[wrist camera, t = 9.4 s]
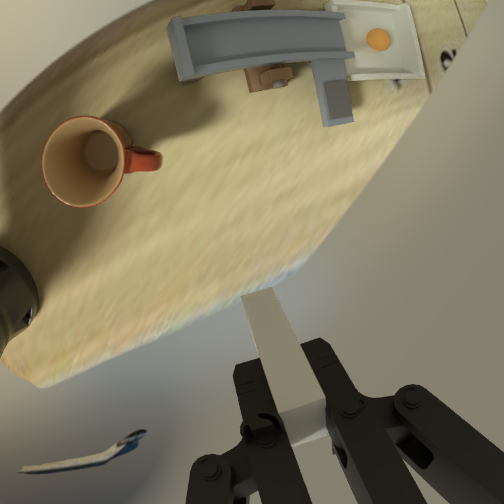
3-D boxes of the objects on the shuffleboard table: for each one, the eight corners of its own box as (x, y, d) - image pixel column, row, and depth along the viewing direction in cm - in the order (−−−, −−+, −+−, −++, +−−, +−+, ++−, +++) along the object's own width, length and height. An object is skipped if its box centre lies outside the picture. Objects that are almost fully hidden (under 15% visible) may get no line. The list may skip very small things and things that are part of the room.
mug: (74, 182, 34) (42, 206, 25) (78, 114, 30) (44, 116, 21) (163, 187, 37) (155, 212, 28) (171, 117, 33) (165, 118, 24)
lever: (199, 158, 29) (207, 161, 26) (166, 28, 22) (171, 17, 20) (354, 120, 34) (370, 121, 32) (332, 16, 28) (348, 11, 25)
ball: (385, 49, 29) (397, 50, 31) (380, 25, 28) (392, 28, 29) (364, 51, 32) (377, 52, 33) (359, 29, 30) (372, 31, 32)
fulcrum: (189, 108, 33) (189, 106, 26) (169, 25, 28) (165, 6, 21) (281, 88, 34) (302, 83, 27) (261, 8, 29) (278, -12, 22)
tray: (341, 82, 35) (357, 79, 31) (322, 5, 29) (337, -5, 26) (406, 79, 36) (425, 78, 32) (390, 9, 30) (408, 3, 26)
